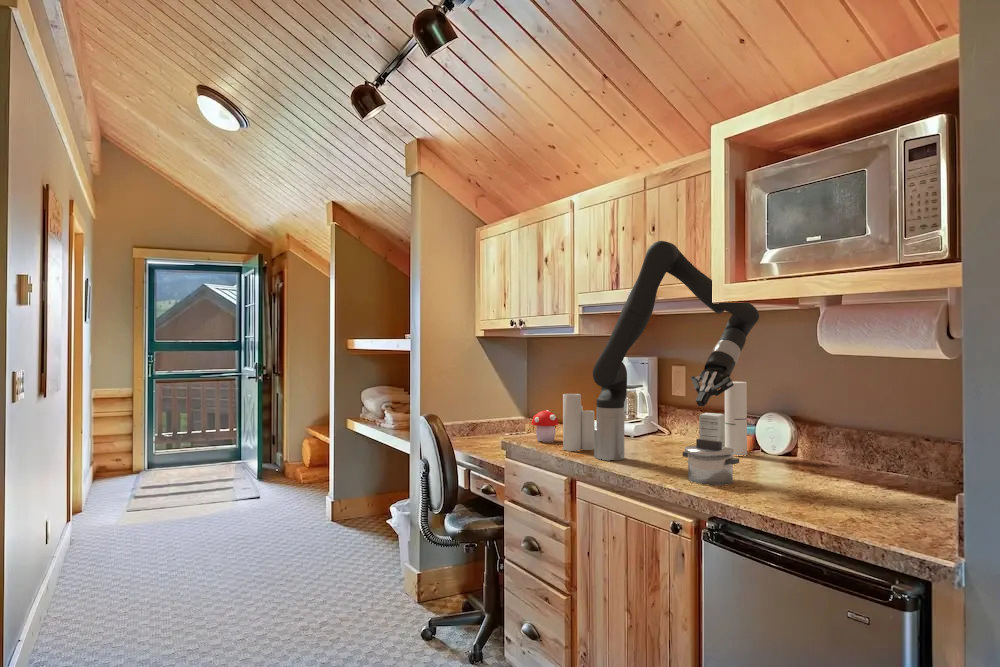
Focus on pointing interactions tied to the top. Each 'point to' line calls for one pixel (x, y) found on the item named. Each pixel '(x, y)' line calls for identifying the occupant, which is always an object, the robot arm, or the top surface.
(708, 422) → the supplement box
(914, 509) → the top surface
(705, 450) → the lid
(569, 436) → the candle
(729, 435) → the cylindrical container
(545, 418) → the mushroom
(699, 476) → the pot
